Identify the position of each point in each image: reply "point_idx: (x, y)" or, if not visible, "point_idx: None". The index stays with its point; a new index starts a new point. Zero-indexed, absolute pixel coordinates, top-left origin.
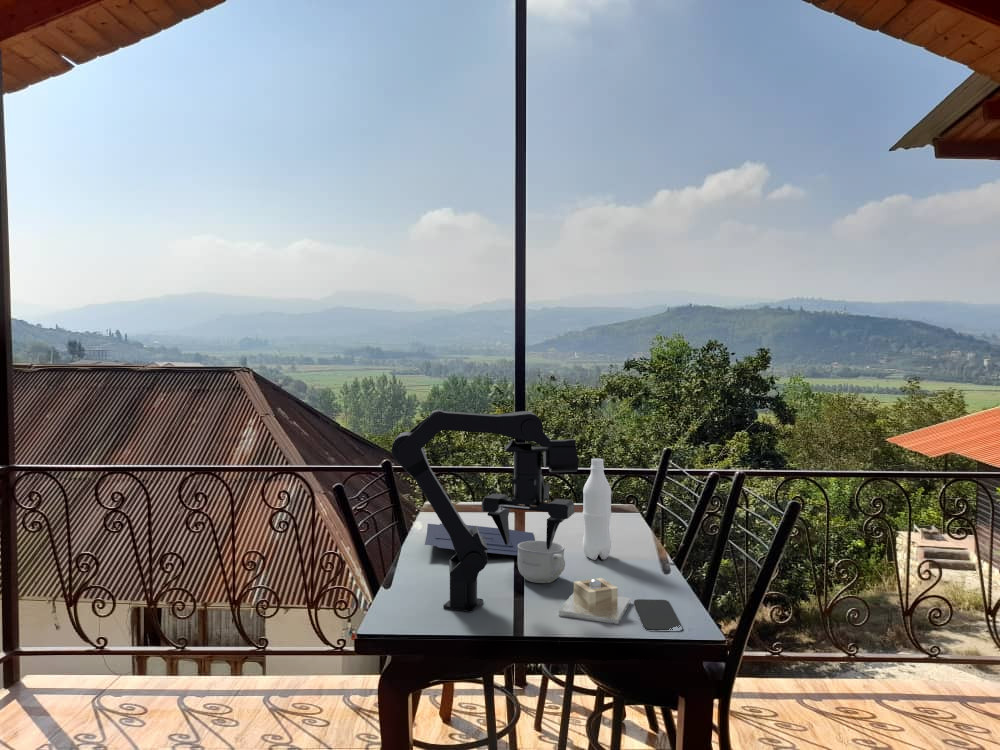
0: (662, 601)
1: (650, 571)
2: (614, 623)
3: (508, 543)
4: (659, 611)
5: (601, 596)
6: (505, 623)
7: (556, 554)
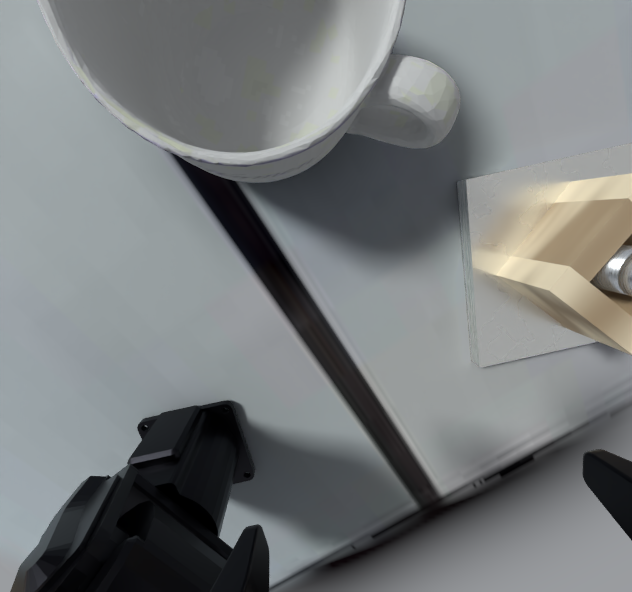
0: None
1: None
2: None
3: (261, 530)
4: None
5: None
6: (369, 471)
7: (418, 95)
